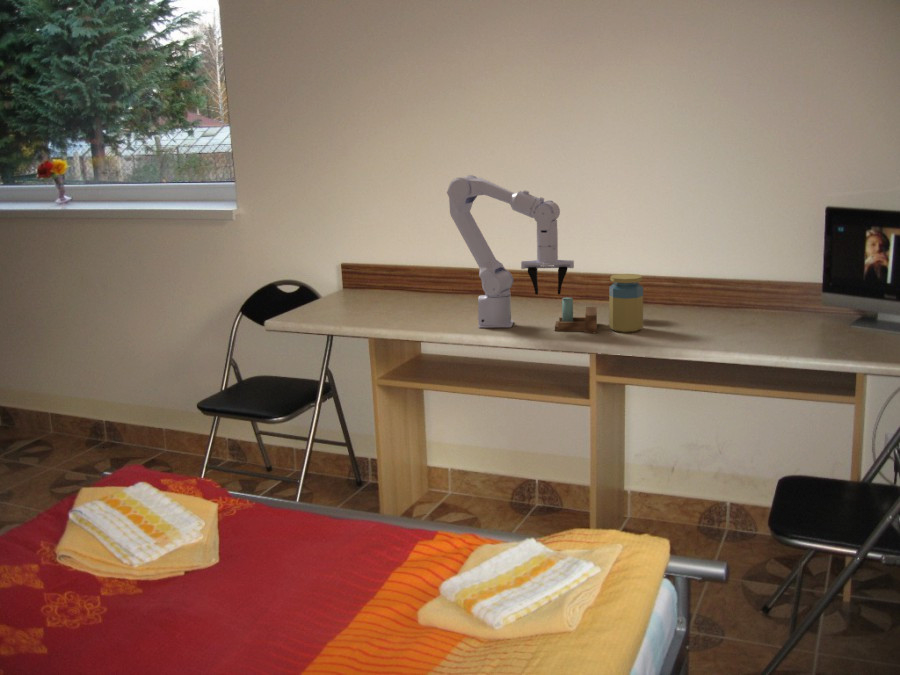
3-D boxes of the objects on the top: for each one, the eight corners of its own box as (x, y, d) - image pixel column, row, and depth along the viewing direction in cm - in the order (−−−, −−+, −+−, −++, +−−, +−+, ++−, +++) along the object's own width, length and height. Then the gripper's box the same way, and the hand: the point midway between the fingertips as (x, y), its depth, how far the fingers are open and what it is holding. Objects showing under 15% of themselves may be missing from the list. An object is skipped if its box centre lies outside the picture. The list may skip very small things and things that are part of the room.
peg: (562, 329, 262) (562, 299, 260) (562, 327, 265) (561, 297, 263) (573, 329, 261) (573, 299, 259) (573, 326, 264) (572, 297, 262)
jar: (641, 334, 253) (642, 279, 249) (607, 333, 255) (607, 279, 252) (644, 326, 262) (644, 273, 258) (611, 325, 264) (611, 273, 261)
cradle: (554, 332, 258) (554, 316, 257) (556, 323, 269) (556, 307, 268) (596, 332, 256) (596, 315, 255) (596, 323, 268) (596, 306, 266)
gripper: (519, 247, 256) (520, 296, 259) (573, 247, 253) (573, 296, 257) (522, 244, 263) (522, 291, 266) (573, 243, 260) (574, 291, 263)
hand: (547, 293), depth 262 cm, fingers open, 6 cm apart
